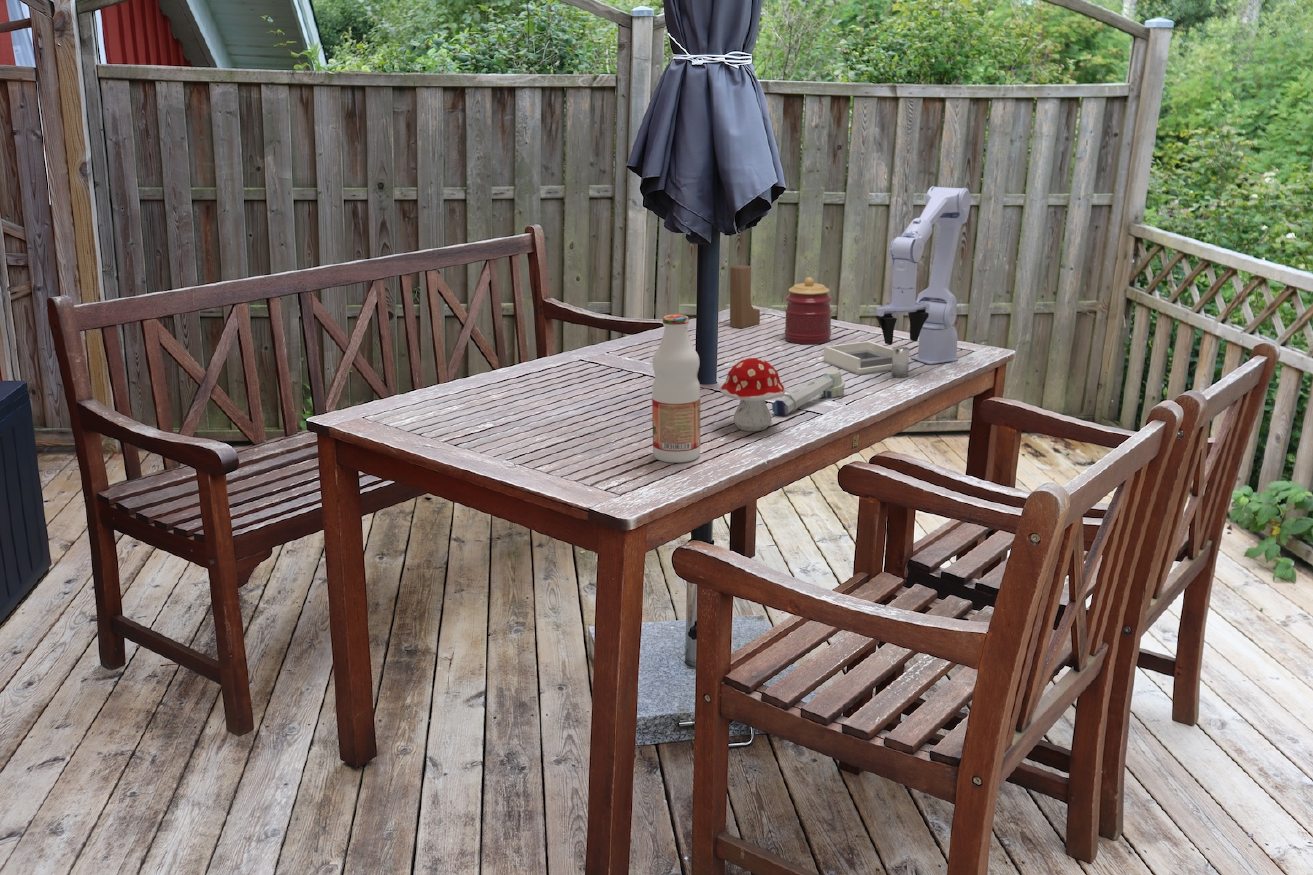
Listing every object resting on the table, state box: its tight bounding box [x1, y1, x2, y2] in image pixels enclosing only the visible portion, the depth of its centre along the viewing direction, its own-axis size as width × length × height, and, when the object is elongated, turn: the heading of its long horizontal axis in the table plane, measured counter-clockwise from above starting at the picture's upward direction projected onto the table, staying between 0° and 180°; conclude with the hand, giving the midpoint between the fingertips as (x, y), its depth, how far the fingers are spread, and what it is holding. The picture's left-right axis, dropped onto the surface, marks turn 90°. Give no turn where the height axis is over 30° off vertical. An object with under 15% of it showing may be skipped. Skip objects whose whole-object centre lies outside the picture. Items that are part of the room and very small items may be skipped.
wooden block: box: [729, 264, 761, 329], centre depth 346 cm, size 9×4×18 cm, turn 137°
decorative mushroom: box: [719, 357, 787, 432], centre depth 248 cm, size 14×14×15 cm
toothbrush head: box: [771, 368, 846, 417], centre depth 266 cm, size 5×7×25 cm
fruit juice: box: [651, 313, 701, 464], centre depth 228 cm, size 9×9×28 cm
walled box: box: [823, 340, 893, 376], centre depth 300 cm, size 14×16×4 cm
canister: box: [784, 276, 833, 345], centre depth 327 cm, size 13×13×18 cm
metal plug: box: [890, 345, 910, 379], centre depth 289 cm, size 4×4×7 cm
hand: (901, 342), depth 287 cm, fingers open, 7 cm apart
